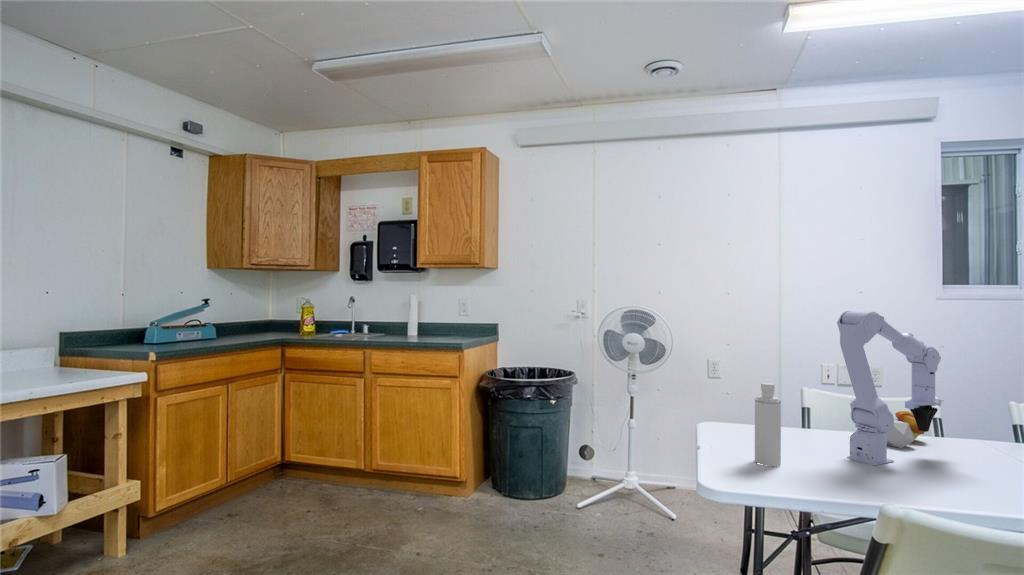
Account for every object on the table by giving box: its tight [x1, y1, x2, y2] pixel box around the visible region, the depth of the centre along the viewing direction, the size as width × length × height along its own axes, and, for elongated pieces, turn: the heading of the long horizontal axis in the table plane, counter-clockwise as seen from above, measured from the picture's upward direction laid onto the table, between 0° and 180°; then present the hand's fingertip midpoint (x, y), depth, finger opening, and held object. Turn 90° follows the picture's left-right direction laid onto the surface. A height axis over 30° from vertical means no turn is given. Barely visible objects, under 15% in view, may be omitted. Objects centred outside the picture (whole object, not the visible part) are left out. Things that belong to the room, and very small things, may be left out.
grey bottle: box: [754, 382, 782, 467], centre depth 153 cm, size 7×7×25 cm
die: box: [887, 419, 916, 449], centre depth 174 cm, size 8×9×10 cm
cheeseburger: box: [894, 410, 925, 440], centre depth 182 cm, size 10×11×10 cm
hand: (923, 430), depth 162 cm, fingers closed
